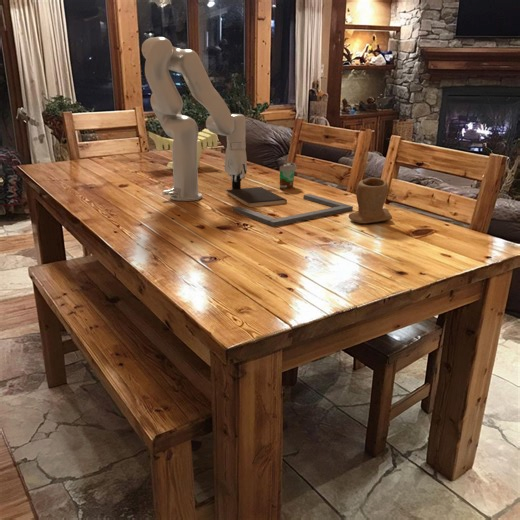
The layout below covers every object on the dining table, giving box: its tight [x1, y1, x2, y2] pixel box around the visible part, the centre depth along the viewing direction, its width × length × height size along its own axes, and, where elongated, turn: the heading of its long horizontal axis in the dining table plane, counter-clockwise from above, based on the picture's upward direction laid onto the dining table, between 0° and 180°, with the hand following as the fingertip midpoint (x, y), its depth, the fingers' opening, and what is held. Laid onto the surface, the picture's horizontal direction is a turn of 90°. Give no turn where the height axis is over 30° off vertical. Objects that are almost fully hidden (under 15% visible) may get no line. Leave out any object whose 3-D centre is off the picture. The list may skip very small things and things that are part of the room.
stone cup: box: [348, 177, 393, 224], centre depth 189 cm, size 15×12×15 cm
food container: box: [279, 161, 297, 190], centre depth 240 cm, size 12×6×10 cm, turn 168°
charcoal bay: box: [232, 193, 354, 227], centre depth 204 cm, size 37×24×2 cm, turn 127°
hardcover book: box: [226, 186, 288, 208], centre depth 221 cm, size 16×23×2 cm
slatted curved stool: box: [148, 128, 218, 170], centre depth 279 cm, size 30×16×18 cm, turn 117°
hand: (236, 190), depth 232 cm, fingers closed
